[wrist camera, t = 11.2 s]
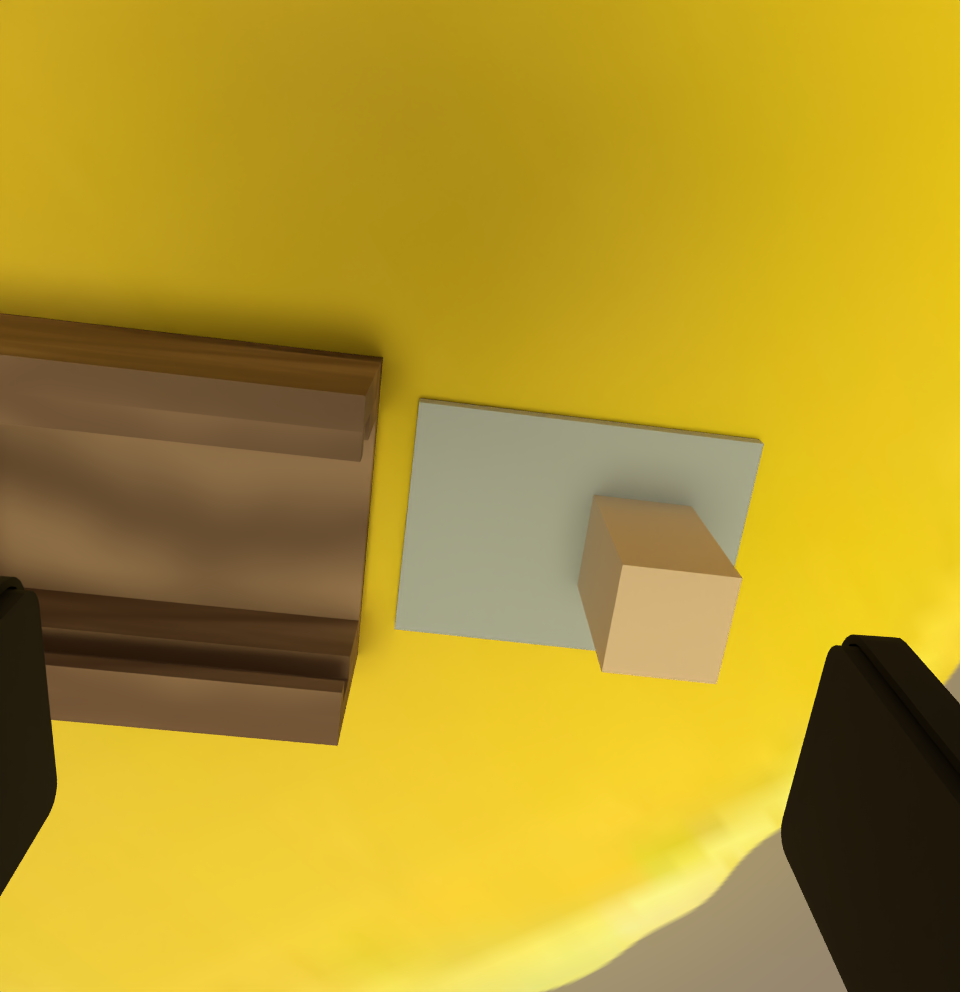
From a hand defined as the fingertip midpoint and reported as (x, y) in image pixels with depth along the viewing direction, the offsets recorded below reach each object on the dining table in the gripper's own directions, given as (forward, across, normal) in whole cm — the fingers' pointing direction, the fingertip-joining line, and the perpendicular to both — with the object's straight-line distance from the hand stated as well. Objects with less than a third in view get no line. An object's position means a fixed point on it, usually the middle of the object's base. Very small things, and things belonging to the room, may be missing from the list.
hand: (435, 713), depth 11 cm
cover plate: (+25, -6, +8) cm, 27 cm away
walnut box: (+25, +11, +8) cm, 28 cm away
